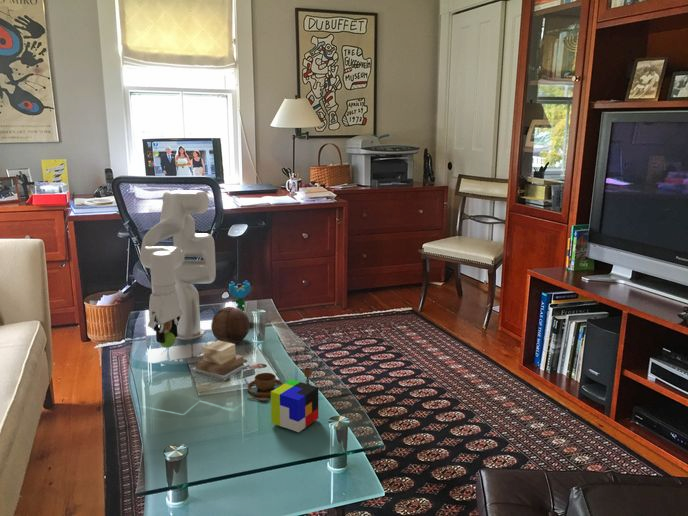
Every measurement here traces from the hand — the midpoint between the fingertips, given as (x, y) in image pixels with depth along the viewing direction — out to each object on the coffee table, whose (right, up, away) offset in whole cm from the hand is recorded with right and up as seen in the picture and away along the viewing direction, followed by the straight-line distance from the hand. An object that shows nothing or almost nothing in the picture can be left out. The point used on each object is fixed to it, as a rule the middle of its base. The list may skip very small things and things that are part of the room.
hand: (167, 338), depth 197 cm
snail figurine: (0, -3, +1) cm, 3 cm away
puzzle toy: (+45, -21, -24) cm, 56 cm away
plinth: (+15, -12, +12) cm, 23 cm away
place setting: (+38, -17, -4) cm, 42 cm away
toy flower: (+14, -1, +63) cm, 65 cm away
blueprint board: (+15, -12, +12) cm, 23 cm away
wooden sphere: (+15, -7, +37) cm, 40 cm away
